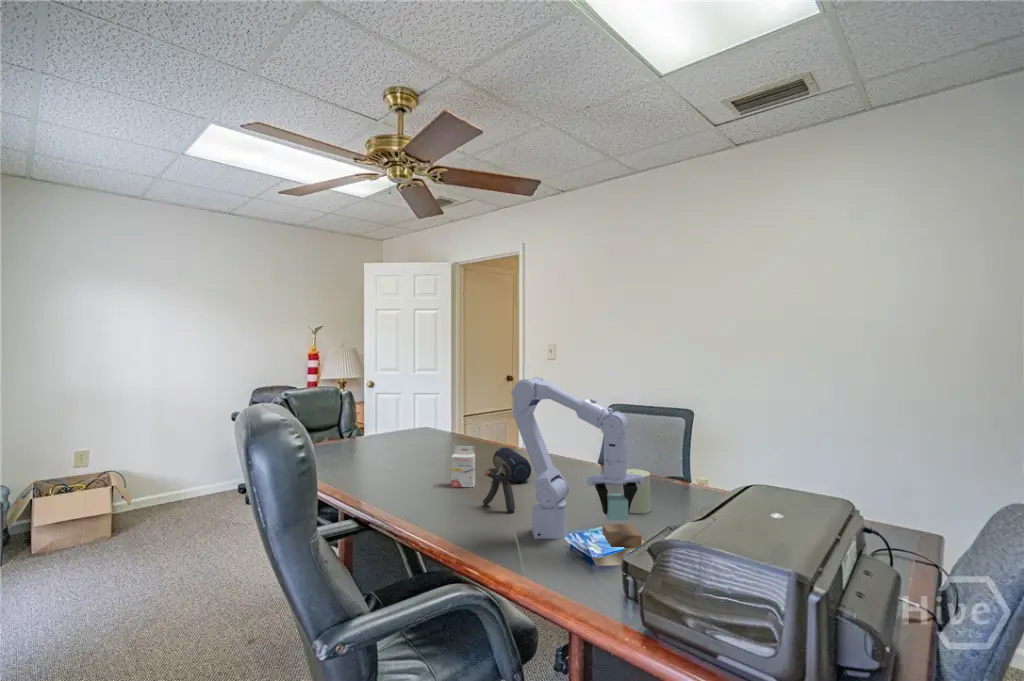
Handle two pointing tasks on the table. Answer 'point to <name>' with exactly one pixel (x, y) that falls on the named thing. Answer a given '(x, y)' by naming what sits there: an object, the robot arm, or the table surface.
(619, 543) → the walnut base
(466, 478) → the ink cartridge box
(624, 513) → the teal cube
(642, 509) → the can
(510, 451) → the portable speaker
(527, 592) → the table surface
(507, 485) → the hand grip strengthener
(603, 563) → the birch board
